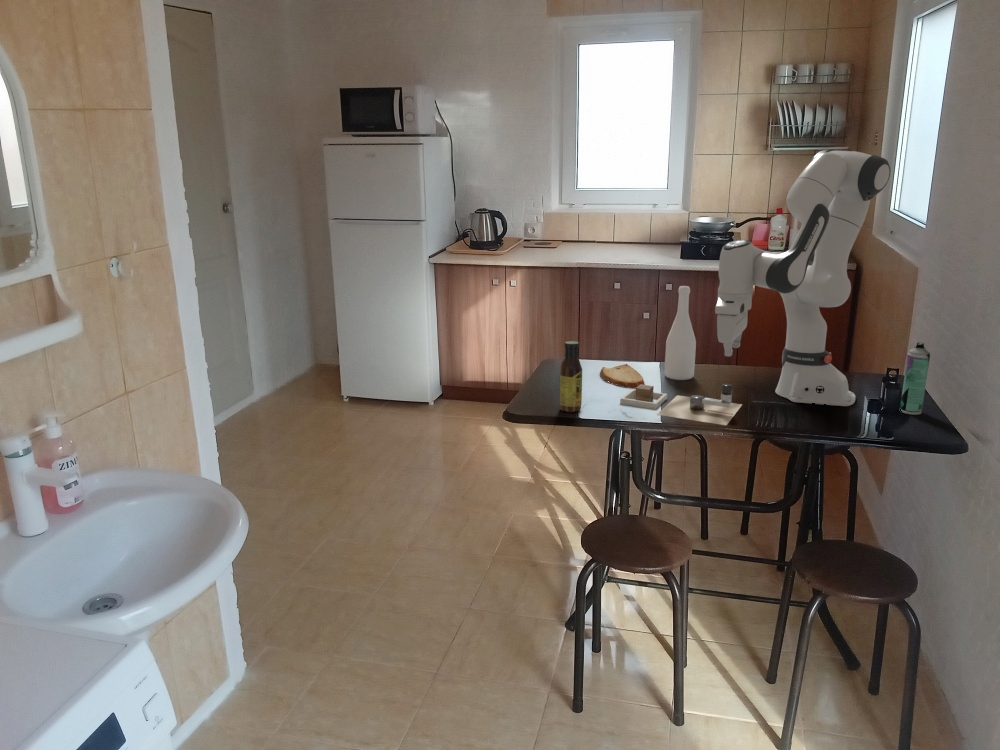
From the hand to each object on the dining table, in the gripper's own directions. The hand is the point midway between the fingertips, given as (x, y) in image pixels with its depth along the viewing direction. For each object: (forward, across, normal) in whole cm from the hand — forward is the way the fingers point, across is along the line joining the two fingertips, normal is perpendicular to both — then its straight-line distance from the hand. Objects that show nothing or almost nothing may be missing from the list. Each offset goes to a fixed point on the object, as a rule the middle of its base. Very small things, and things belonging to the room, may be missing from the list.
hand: (732, 351), depth 209 cm
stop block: (+17, +4, -24) cm, 29 cm away
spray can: (+21, -26, +45) cm, 56 cm away
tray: (+18, +4, -24) cm, 30 cm away
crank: (+16, +4, -5) cm, 17 cm away
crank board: (+18, +4, -7) cm, 20 cm away
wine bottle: (+19, -31, -23) cm, 43 cm away
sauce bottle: (+17, +17, -41) cm, 48 cm away
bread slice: (+19, -21, -39) cm, 48 cm away
